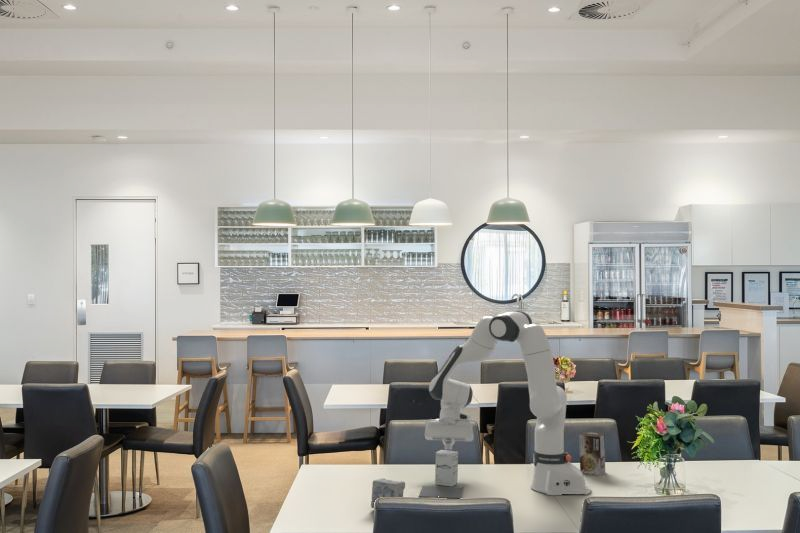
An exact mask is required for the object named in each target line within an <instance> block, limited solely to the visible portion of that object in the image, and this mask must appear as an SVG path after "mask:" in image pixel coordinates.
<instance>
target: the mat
mask: <svg viewBox="0 0 800 533" xmlns="http://www.w3.org/2000/svg"><path fill="white" fill-rule="evenodd" d="M463 493H464V486H453V487H451V486H443V485H435V486H434V485H422V487H421V489H420V490H419V494H418V498H427V497H438V496H439V497H442V498H441V499H454V498H462V499H463Z"/></svg>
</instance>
